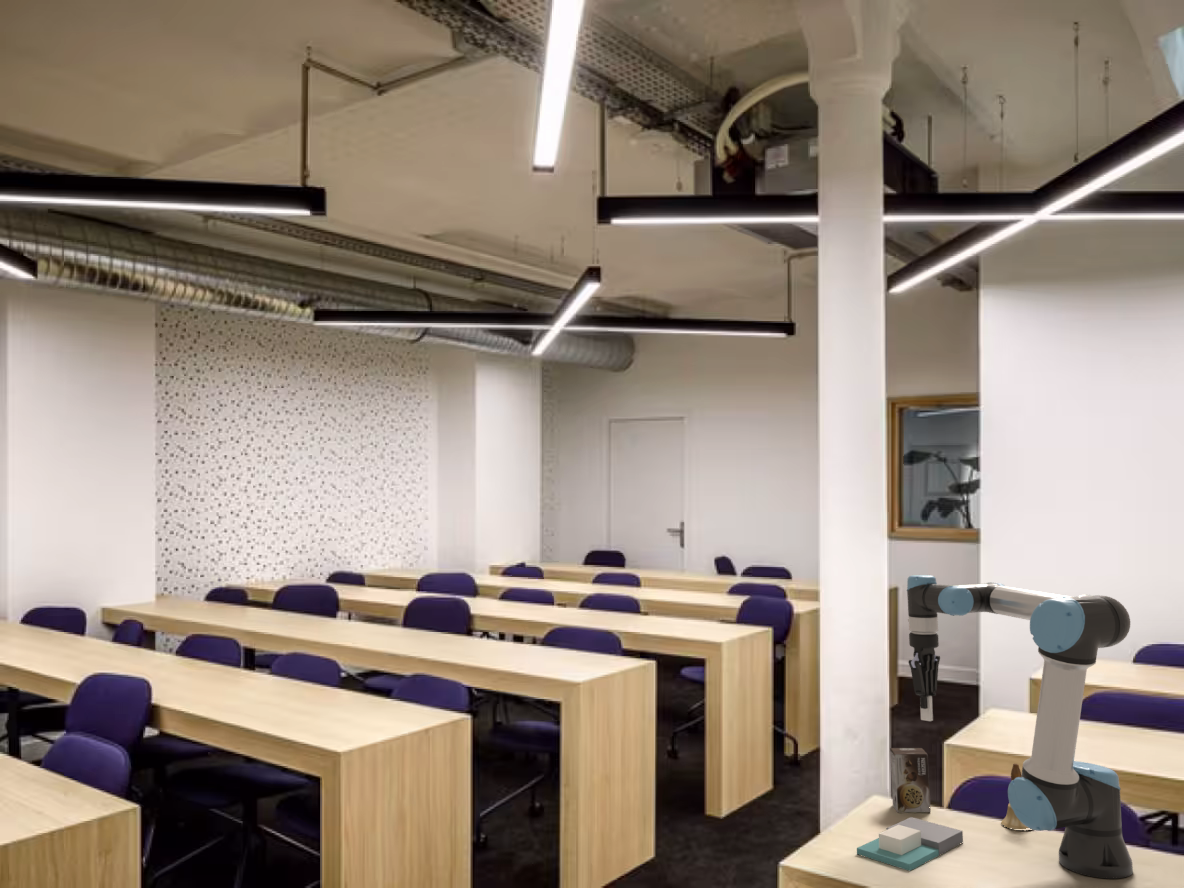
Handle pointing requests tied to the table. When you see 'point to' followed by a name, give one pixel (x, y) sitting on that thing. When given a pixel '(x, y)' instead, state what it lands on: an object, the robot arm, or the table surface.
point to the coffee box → (910, 780)
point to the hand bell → (1011, 818)
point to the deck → (934, 834)
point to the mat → (898, 855)
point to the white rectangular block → (899, 839)
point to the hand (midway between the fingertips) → (926, 720)
